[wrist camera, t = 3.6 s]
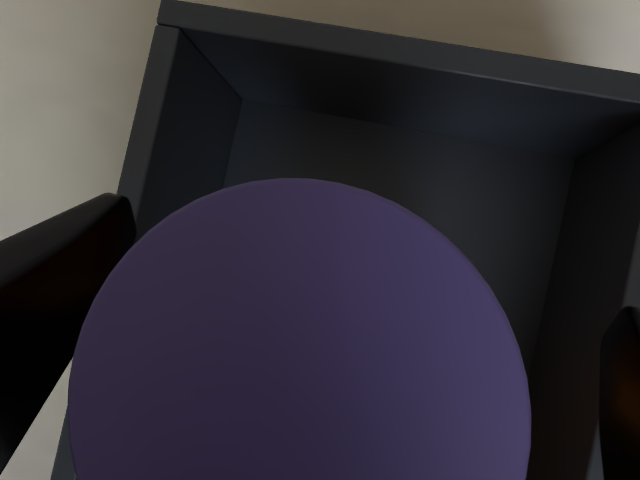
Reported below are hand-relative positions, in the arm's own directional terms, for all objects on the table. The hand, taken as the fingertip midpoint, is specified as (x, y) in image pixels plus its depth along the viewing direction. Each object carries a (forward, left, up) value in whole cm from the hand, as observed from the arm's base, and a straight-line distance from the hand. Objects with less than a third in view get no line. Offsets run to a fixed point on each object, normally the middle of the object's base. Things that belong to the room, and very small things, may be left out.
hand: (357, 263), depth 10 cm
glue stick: (-1, 0, -6) cm, 6 cm away
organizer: (-1, 0, -7) cm, 7 cm away
